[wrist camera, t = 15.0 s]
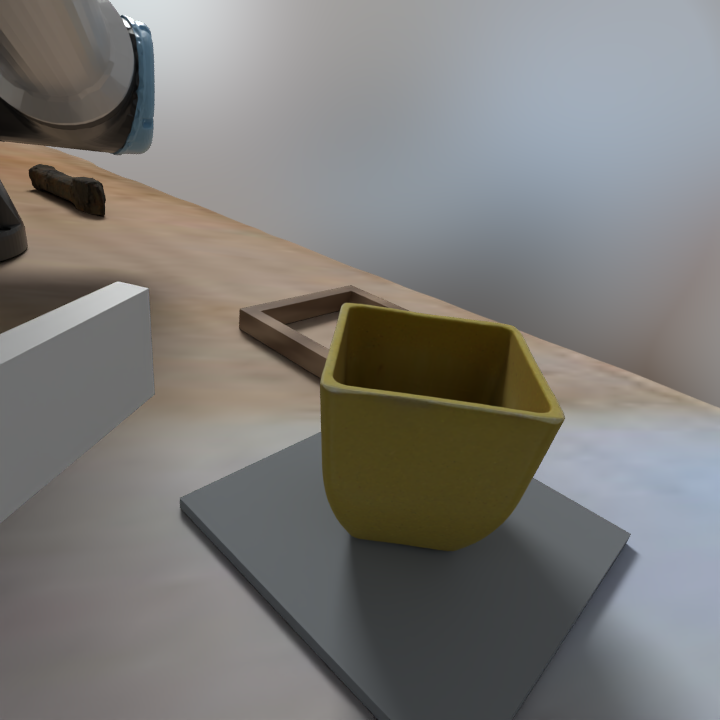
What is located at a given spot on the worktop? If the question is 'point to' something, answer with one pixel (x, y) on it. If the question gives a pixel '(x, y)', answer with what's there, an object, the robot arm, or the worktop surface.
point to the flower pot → (430, 425)
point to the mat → (411, 589)
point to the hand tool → (70, 188)
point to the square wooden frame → (272, 316)
